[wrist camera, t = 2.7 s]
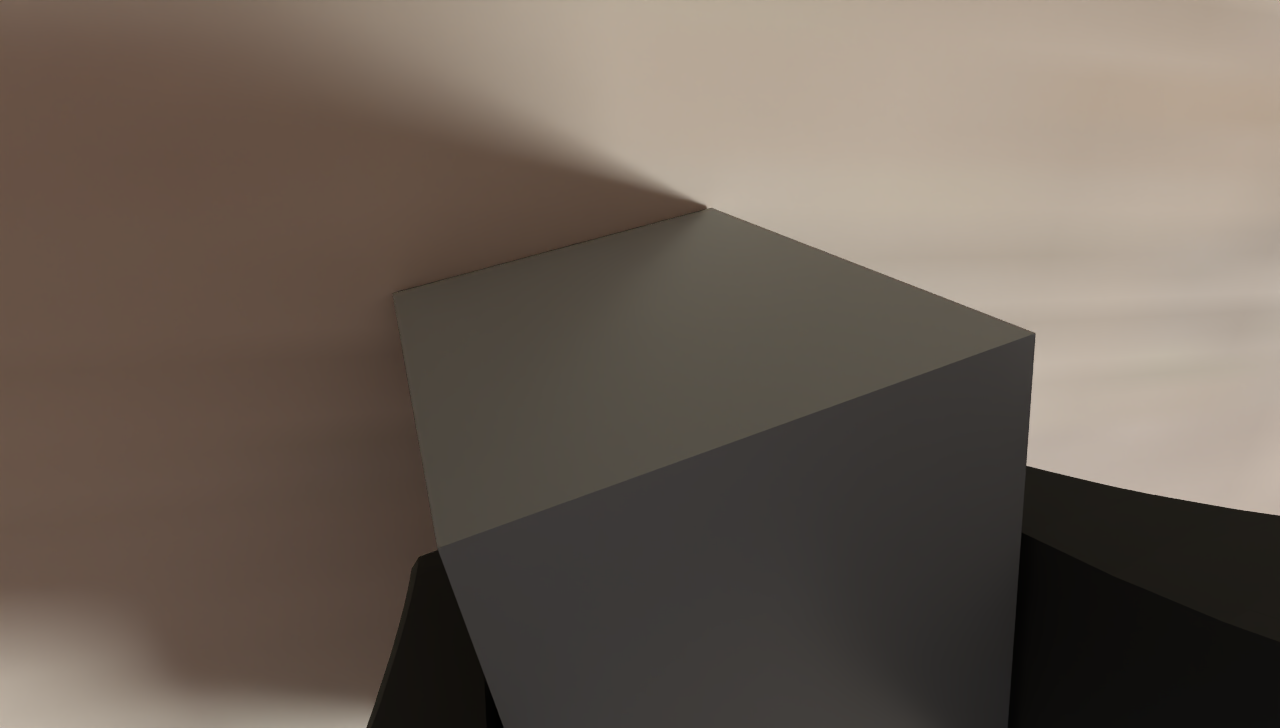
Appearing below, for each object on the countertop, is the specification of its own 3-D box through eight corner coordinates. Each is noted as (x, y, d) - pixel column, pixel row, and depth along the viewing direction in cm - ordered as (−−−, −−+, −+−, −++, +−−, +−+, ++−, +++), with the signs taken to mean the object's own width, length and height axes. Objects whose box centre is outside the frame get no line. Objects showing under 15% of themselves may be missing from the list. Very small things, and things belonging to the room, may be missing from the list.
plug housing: (764, 617, 12) (993, 922, 8) (535, 716, 11) (652, 1128, 7) (711, 207, 9) (1034, 333, 5) (392, 292, 8) (437, 547, 4)
